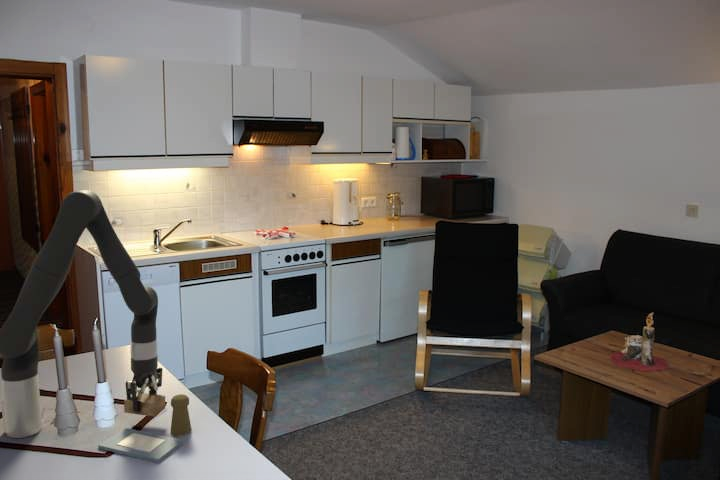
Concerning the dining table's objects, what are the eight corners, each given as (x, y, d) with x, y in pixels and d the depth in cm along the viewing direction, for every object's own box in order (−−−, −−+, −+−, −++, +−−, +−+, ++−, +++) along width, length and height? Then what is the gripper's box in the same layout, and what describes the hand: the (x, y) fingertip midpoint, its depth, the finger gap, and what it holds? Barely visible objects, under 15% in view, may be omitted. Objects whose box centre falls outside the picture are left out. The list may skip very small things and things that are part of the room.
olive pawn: (185, 437, 180) (184, 401, 178) (166, 434, 181) (165, 399, 179) (195, 427, 186) (194, 393, 184) (176, 425, 187) (175, 391, 185)
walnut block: (124, 412, 185) (124, 399, 184) (135, 404, 190) (134, 391, 190) (155, 416, 183) (155, 403, 182) (165, 408, 189) (165, 395, 188)
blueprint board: (98, 448, 173) (98, 444, 173) (125, 430, 183) (125, 427, 183) (158, 462, 166) (158, 458, 166) (183, 443, 176) (183, 439, 176)
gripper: (149, 344, 191) (150, 395, 194) (116, 360, 178) (118, 414, 181) (169, 348, 189) (170, 400, 192) (138, 364, 176) (139, 419, 179)
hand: (145, 406), depth 186 cm, fingers closed on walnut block, 6 cm apart
